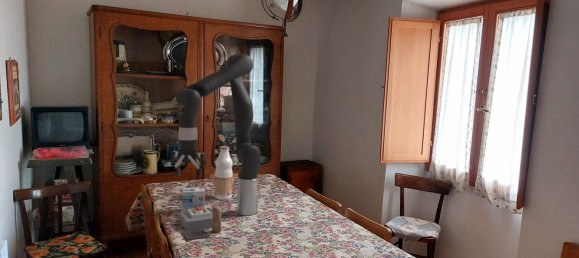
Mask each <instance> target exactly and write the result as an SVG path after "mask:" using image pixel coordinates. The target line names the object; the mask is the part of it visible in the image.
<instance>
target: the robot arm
mask: <svg viewBox="0 0 579 258" xmlns="http://www.w3.org/2000/svg"><path fill="white" fill-rule="evenodd" d="M253 68H254V60H253V58H252V57H251V56H250V55H248V54H244V53H240V54H233V55H230V56H229V57H228V58H227V60H226V67H224V68H223V69H220V70H218V71H215V72H213V73H210V74H208V75H206V76H205V77H203V78H201V79H199V80H198V81H197V82H194V83H192V84H190V85H187V86H184V87H181V89H179V90H178V91H177V92H176V94H175V102H176V103H177V104H178V105H179V106H182V107H184V110H183V112H181V113H180V114H179V117H178V123H179V127H178V128H179V129H178V151H176V150H173V151H171V153H170V166H171V167H174V170H175V171H174V173H175V175H176V177H180V176H181V165H182V163H184V164H186V163H188V164H191V163H192V164H193V165H194V166H195V167H196V170H195V171H196V173H195V175H196V177H195V178H200V177H201V176H202V169H203V168H205V167H206V166H207V164H206V152H199V151H198V148H199V147H198V143H199V142H198V141H199V139H198V115H199V112H200V108H201V107H200V106H201V101H202V100H201V98H204V97H208V96H209V95H211V94H213V93H214V92H215V91H217V90H218V89H220V88H221V87H223V86H225V85H226V84H228V83H229V87H230V94H231V100H232V111H233V112H232V114H233V119H234V130H235V154H236V155H235V156H236V158H237V160H238V161H240V162H241V163H242V167H241V170H239V171H238V173H237V179H238V180H237V195H236V196H237V198H236V200H237V201H236V203H237V204H236V214H238V215H240V216H253V215H255V214H258V213H259V212H258V211H259V193H258V175H259V173H260V170H261V169H260V168H261V151H260V149H259V147H257V146H256V145H252V139H251V128H252V125H253V121H254V107H253V106H254V104H253V101H252V99H251V97H250V95H249V93H248V91H247V90H246V87H245V84H244V80H243V79H244V78H243V76H245V75H249V73H251V72H252V70H253ZM177 157H179V159H178V160H177ZM198 158H199V159H200V161H199V159H198Z"/></svg>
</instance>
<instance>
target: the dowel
mask: <svg viewBox="0 0 579 258" xmlns="http://www.w3.org/2000/svg"><path fill="white" fill-rule="evenodd" d="M212 211H213V218H212V227H211V232H212V233H214V234H219V233H221V232H222V207H221V206H213V207H212Z"/></svg>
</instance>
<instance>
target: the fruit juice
mask: <svg viewBox="0 0 579 258" xmlns="http://www.w3.org/2000/svg"><path fill="white" fill-rule="evenodd" d="M219 150H220V152H219V154H218V157H217V159H216V160H215V171H214V198H215V199H216V200H220V201H225V200H230V199H232V197H233V169H232V168H233V164H234V162H233V159H232V157H231V155H230V147H229V146H227V145H222V146H219Z"/></svg>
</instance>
